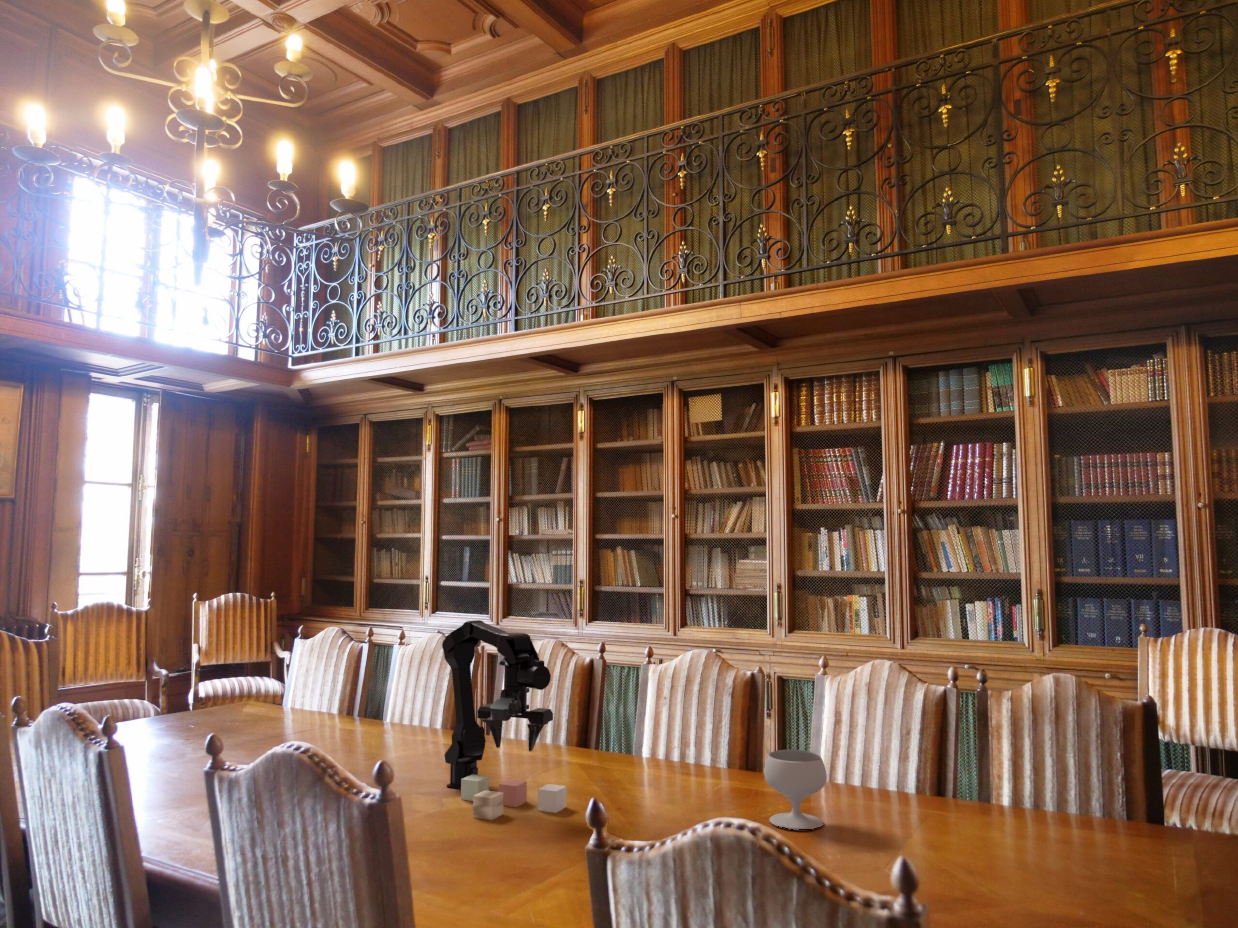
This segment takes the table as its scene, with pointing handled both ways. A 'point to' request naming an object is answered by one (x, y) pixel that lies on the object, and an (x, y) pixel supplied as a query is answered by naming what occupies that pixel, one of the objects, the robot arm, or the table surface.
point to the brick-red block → (513, 792)
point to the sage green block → (473, 786)
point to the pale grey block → (552, 798)
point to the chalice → (795, 784)
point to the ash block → (488, 805)
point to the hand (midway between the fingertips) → (514, 749)
